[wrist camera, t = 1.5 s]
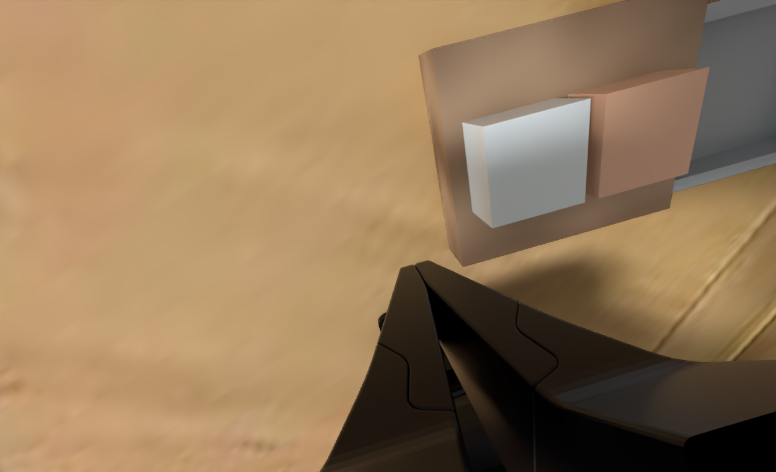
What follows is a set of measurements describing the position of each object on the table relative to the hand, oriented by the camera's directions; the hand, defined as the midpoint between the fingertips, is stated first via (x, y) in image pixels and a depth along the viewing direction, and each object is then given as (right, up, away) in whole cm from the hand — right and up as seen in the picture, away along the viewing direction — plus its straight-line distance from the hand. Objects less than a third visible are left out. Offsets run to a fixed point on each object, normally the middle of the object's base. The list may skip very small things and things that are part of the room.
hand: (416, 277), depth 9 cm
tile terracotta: (+11, +7, +8) cm, 16 cm away
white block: (+6, +5, +8) cm, 11 cm away
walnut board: (+9, +7, +10) cm, 16 cm away
